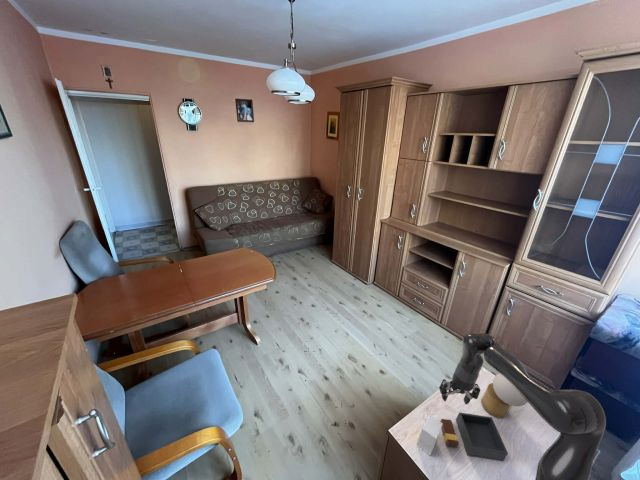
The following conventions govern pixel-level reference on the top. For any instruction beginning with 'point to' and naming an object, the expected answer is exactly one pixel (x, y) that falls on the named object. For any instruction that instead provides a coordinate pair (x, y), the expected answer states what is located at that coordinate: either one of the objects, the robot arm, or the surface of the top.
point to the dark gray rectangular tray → (481, 437)
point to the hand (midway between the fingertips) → (454, 400)
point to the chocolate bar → (449, 433)
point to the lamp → (501, 397)
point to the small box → (429, 434)
